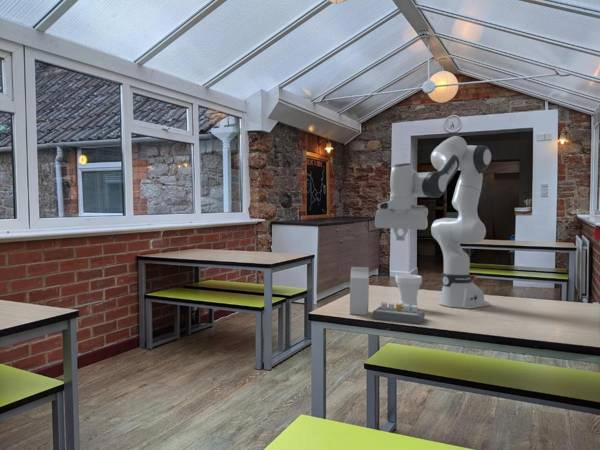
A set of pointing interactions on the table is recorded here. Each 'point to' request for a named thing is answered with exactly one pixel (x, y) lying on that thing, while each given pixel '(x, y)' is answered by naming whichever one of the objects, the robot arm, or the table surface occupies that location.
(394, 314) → the switch box
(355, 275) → the milk carton
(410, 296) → the cup
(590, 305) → the table surface
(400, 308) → the rocker switch
